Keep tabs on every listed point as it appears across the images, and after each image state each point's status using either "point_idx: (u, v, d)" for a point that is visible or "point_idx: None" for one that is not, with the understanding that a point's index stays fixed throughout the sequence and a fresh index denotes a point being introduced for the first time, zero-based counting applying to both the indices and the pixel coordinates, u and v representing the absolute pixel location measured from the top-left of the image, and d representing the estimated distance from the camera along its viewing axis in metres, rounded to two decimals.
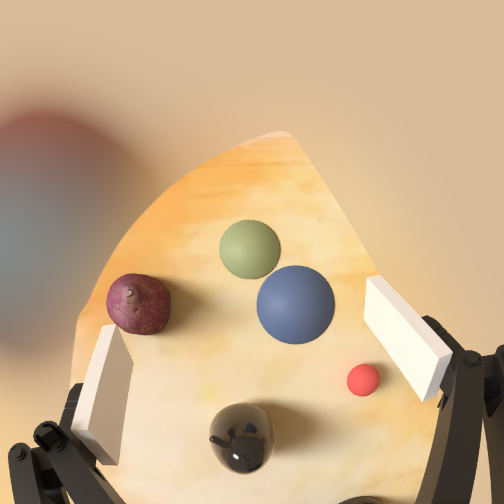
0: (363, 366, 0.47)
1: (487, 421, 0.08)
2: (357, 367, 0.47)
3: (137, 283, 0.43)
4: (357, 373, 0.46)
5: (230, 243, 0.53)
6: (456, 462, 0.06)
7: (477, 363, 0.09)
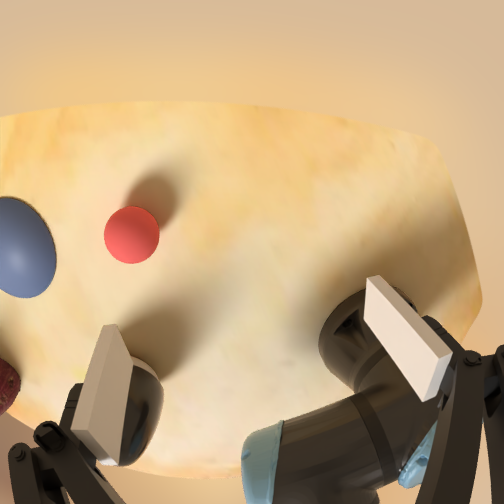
0: (105, 229, 0.28)
1: (487, 421, 0.08)
2: None
3: None
4: (106, 246, 0.28)
5: None
6: (456, 462, 0.06)
7: (477, 363, 0.09)
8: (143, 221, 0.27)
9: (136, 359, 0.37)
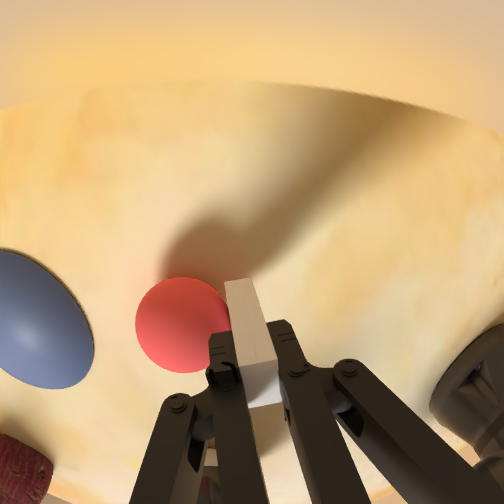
0: None
1: (359, 441, 0.10)
2: None
3: None
4: None
5: None
6: (332, 478, 0.07)
7: (304, 371, 0.11)
8: (170, 326, 0.15)
9: None
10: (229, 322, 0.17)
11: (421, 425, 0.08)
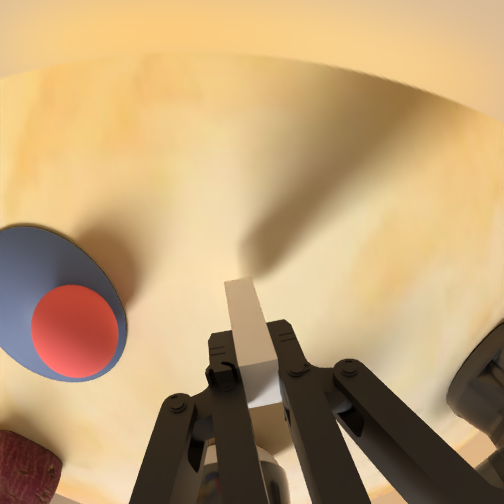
0: (70, 334, 0.14)
1: (359, 441, 0.10)
2: (68, 351, 0.14)
3: None
4: (92, 356, 0.14)
5: None
6: (332, 478, 0.07)
7: (305, 371, 0.11)
8: None
9: None
10: None
11: (422, 425, 0.08)
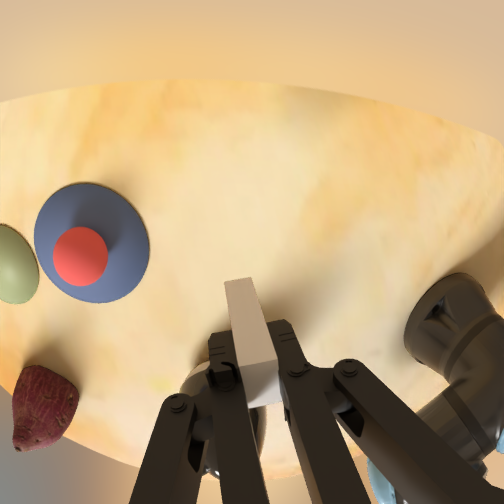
0: (54, 253, 0.24)
1: (359, 440, 0.10)
2: (53, 260, 0.25)
3: (15, 419, 0.27)
4: (58, 271, 0.24)
5: None
6: (332, 478, 0.07)
7: (305, 371, 0.11)
8: (92, 239, 0.25)
9: None
10: None
11: (422, 425, 0.08)
